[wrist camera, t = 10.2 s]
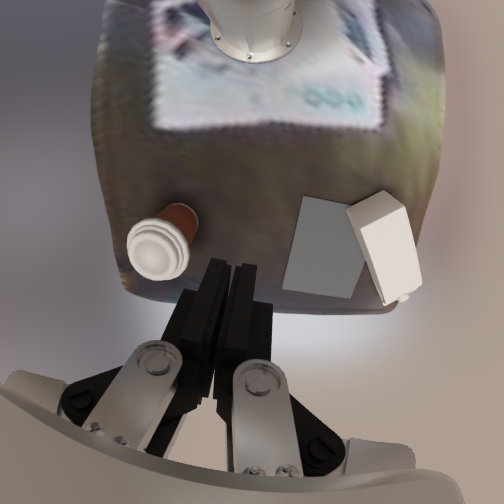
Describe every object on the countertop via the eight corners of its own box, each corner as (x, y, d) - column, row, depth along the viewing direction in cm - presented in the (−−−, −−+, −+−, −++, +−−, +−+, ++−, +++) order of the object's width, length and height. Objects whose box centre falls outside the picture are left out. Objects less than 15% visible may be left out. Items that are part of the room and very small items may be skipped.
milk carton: (383, 188, 37) (409, 277, 45) (344, 208, 39) (377, 293, 47) (404, 204, 31) (425, 300, 39) (359, 227, 33) (390, 319, 41)
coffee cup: (205, 250, 45) (184, 293, 35) (155, 241, 45) (124, 280, 35) (208, 198, 41) (185, 230, 30) (154, 192, 41) (117, 220, 31)
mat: (302, 194, 39) (303, 195, 39) (380, 211, 39) (381, 212, 39) (281, 287, 48) (281, 288, 47) (349, 296, 48) (350, 298, 47)
